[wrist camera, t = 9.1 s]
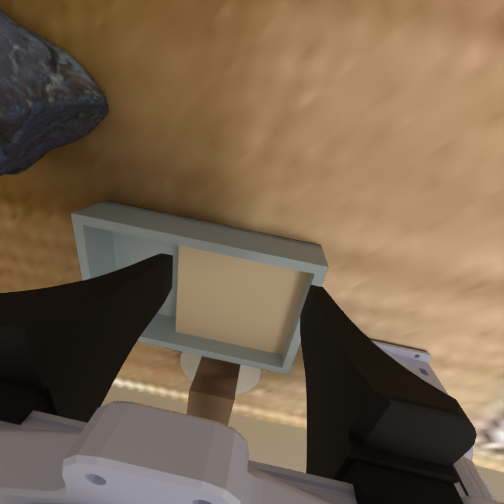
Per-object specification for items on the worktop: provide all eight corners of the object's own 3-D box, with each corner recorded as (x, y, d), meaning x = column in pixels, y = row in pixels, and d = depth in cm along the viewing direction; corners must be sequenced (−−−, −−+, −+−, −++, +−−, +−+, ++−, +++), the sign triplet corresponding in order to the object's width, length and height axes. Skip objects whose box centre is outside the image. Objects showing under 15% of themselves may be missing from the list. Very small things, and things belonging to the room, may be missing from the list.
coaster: (268, 344, 27) (268, 348, 27) (253, 397, 32) (252, 402, 31) (183, 325, 28) (181, 329, 27) (180, 381, 32) (178, 385, 32)
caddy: (320, 245, 21) (328, 267, 18) (287, 343, 27) (288, 374, 23) (105, 200, 22) (70, 213, 18) (116, 305, 28) (91, 331, 24)
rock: (103, 202, 22) (147, 111, 17) (-23, 217, 15) (-19, 73, 10) (14, 73, 23) (27, -54, 18) (-142, 35, 16) (-201, -193, 11)
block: (241, 358, 28) (234, 400, 24) (235, 382, 30) (227, 425, 26) (204, 349, 28) (189, 390, 24) (200, 374, 30) (186, 416, 26)
